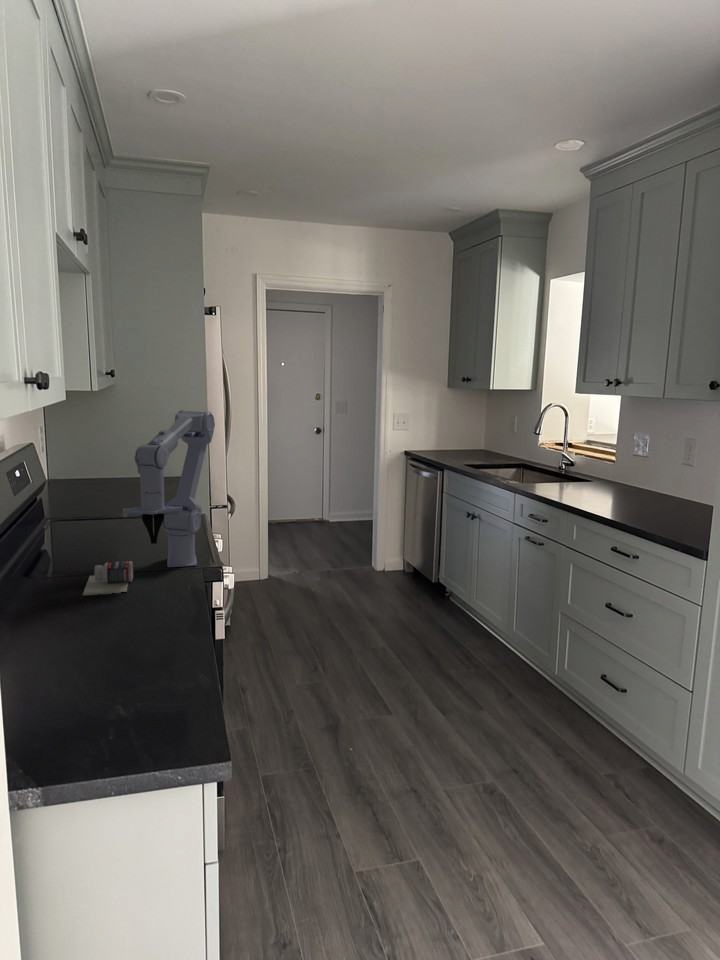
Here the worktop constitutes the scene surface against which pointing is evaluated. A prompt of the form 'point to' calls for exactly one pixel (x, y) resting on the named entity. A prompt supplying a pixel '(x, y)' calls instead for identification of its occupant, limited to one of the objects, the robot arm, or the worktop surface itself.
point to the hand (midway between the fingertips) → (154, 542)
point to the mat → (103, 587)
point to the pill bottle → (114, 572)
